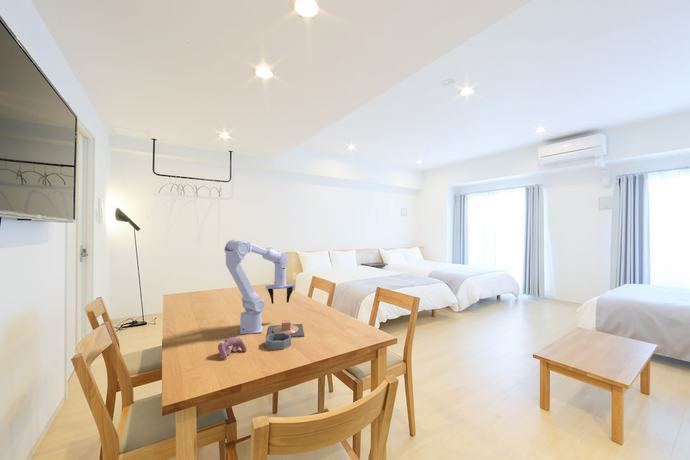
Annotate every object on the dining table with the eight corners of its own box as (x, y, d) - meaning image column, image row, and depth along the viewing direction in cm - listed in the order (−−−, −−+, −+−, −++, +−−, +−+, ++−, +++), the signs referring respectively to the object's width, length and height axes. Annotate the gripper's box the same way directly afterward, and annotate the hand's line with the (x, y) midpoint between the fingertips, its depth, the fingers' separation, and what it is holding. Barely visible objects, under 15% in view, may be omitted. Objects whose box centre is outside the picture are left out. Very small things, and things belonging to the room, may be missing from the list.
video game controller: (242, 352, 115) (238, 335, 117) (248, 350, 112) (243, 332, 114) (218, 361, 107) (214, 343, 109) (224, 359, 105) (220, 340, 107)
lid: (272, 336, 127) (272, 326, 127) (273, 327, 138) (273, 318, 138) (299, 334, 129) (299, 325, 129) (297, 325, 140) (298, 316, 140)
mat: (267, 339, 125) (267, 337, 125) (269, 326, 140) (269, 325, 140) (304, 336, 128) (304, 335, 128) (302, 325, 143) (302, 323, 143)
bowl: (265, 350, 114) (265, 343, 114) (267, 340, 124) (267, 333, 123) (291, 348, 116) (291, 341, 116) (290, 338, 126) (290, 332, 126)
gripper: (266, 278, 140) (266, 306, 140) (295, 276, 146) (295, 303, 146) (265, 276, 147) (264, 302, 147) (293, 274, 152) (293, 300, 152)
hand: (280, 302), depth 147 cm, fingers open, 7 cm apart
